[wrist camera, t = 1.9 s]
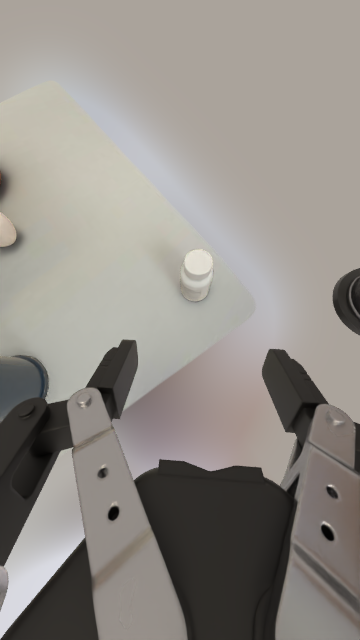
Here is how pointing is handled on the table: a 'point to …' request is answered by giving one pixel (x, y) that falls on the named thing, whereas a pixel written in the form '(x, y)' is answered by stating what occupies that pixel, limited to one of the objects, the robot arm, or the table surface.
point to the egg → (6, 231)
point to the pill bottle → (196, 275)
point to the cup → (20, 381)
